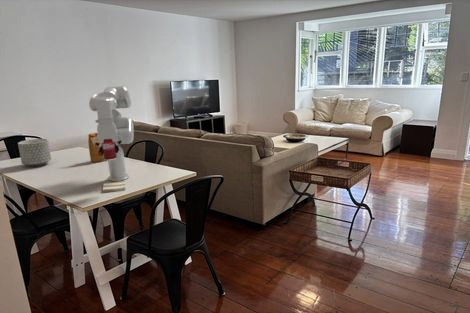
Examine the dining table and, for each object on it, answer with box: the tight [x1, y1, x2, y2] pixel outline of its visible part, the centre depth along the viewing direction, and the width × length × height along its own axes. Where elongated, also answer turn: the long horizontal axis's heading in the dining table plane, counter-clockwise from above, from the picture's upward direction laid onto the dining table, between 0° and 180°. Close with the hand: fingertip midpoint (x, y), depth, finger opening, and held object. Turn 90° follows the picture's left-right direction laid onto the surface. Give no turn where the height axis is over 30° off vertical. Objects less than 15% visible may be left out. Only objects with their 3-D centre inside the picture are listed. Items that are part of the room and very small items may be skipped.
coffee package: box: [87, 132, 106, 163], centre depth 250 cm, size 10×12×22 cm
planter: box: [17, 138, 52, 168], centre depth 243 cm, size 19×19×18 cm
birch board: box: [102, 180, 126, 194], centre depth 191 cm, size 12×12×2 cm
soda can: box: [102, 139, 117, 161], centre depth 182 cm, size 7×7×12 cm
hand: (109, 152), depth 183 cm, fingers closed on soda can, 7 cm apart
